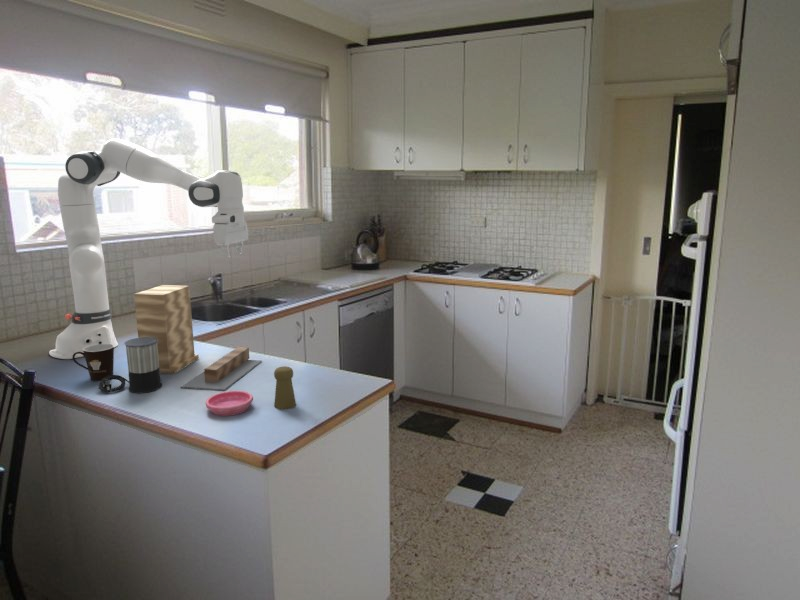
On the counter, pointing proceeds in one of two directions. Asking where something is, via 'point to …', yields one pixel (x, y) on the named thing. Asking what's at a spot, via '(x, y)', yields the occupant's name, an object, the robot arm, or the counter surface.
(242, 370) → the rubber mat
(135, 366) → the milk frother
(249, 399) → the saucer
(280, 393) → the cork
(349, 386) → the counter surface
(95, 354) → the coffee mug
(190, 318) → the oak block
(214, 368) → the walnut bar
